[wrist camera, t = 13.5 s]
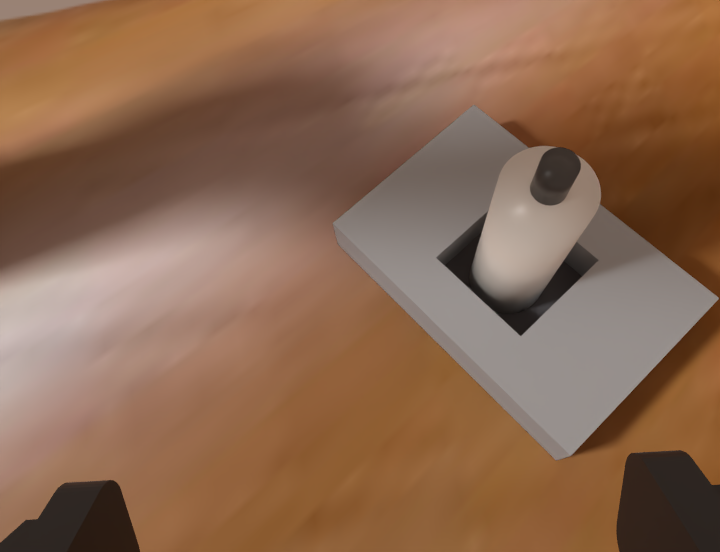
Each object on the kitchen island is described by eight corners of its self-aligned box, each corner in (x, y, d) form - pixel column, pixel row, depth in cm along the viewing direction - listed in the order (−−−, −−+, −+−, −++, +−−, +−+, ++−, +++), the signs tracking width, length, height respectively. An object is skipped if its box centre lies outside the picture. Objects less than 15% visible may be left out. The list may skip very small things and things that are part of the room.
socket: (337, 244, 38) (332, 223, 35) (468, 132, 40) (473, 104, 37) (556, 460, 32) (570, 455, 29) (693, 315, 34) (719, 298, 31)
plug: (473, 315, 35) (512, 216, 23) (466, 247, 37) (498, 122, 24) (547, 311, 35) (627, 210, 23) (537, 244, 36) (606, 115, 24)
